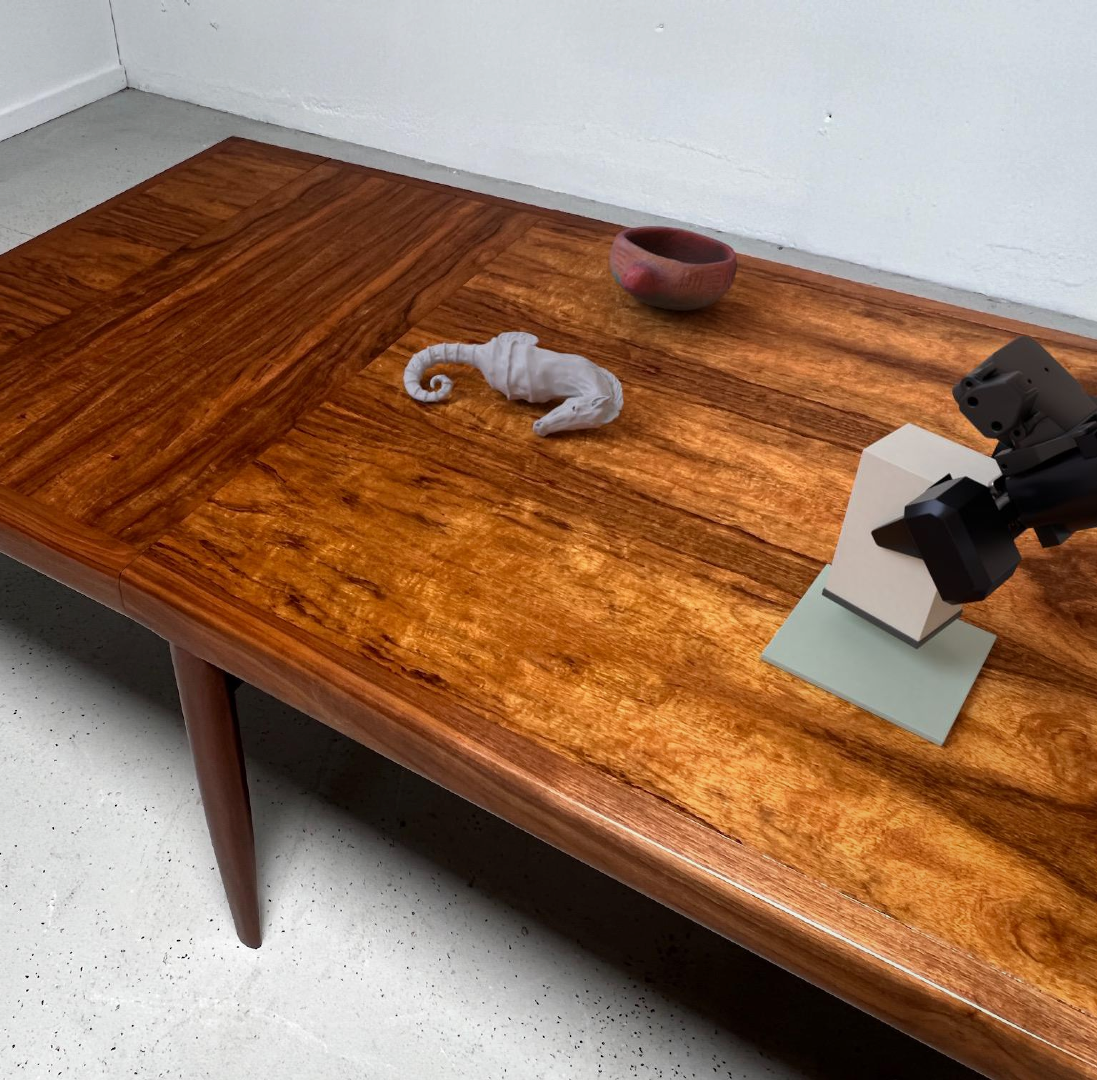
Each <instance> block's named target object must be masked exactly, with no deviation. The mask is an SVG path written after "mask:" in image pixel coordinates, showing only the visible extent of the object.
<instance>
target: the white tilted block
mask: <svg viewBox="0 0 1097 1080" xmlns="http://www.w3.org/2000/svg"><path fill="white" fill-rule="evenodd" d="M948 473H950V474H951V476H952V478H953V479H956V478H960V477H964V476H967V477H969V478H971V479H973V480H975V481H977V482H979V483H981V484H983V485H985V486H987V487H988V483H989V482H990V481H991V480H992V479H994V478H995V477H996V476H998V475H999V474H1000V473H1001V471H1000V469H999V466H998V464H997V462H996V460H995V459H993V458H991V456H988V455H986V454H983V453H981V452H979V451H976V450H974V449H971V448H969V447H967V446H964V445H962V444H960V443H958V442H955V441H953V440H951V439H948V438H945V437H943V436H941V435H938V434H936V433H934V432H932V431H929V430H927V429H924V428H922V427H919V426H918V425H915V424H913V423H911V422H907V423H905V424H904V425H902V426H901V427H900V428H897V429H896V430H894V431H893V432H891V433H889V434H887V435H885V436H884V437H882V438H880V439H879V440H877V441H875V442H874V443H872V444H870V445H868V446H867V447H865V448H863V450H862V452H861V456H860V460H859V464H858V467H857V471H856V474H855V479H854V482H853V485H852V489H851V492H850V496H849V500H848V503H847V508H846V511H845V515H844V519H843V521H842V522H843V523H842V526H841V530H840V534H839V537H838V540H837V544H836V548H835V551H834V554H833V555H834V556H833V559H832V562H831V565H832V566H831V570H830V573H829V577H828V580H827V584H826V587H825V588H823V591H822V595H823V596H824V597H826V598H828V599H830V600H831V601H833V602H835V603H837V604H838V605H840V606H842V607H844V608H845V609H847V610H849V611H851V612H852V613H854V614H856V615H858V616H859V617H861V618H863V619H865V620H866V621H868V622H870V623H872V624H873V625H875V626H877V627H879V628H880V629H882V630H884V631H885V632H887V633H889V634H891V635H892V636H894V637H896V638H898V639H899V640H901V641H903V642H905V643H906V644H908V645H910V646H912V647H913V648H915V649H918V648H920V647H921V646H922V645H923V644H925V643H926V642H927V641H929V640H930V639H931V638H933V637H934V636H935V635H937V634H938V633H939V632H941V631H942V630H943V629H944V628H946V627H947V626H948V625H950V624H951V623H952V622H954V621H955V620H956V619H959V618H960V617H961V616H962V614H963V611H964V609H962V608H963V607H964V606H963V605H964V604H959V605H950V604H948V603H946V602H944V601H942V599H941V597H940V594H939V592H938V590H937V588H936V586H935V584H934V582H933V580H932V578H931V576H930V574H929V571H928V569H927V567H926V565H925V563H924V561H923V560H922V559H918V558H915V557H912V556H908V555H905V554H902V553H898V552H895V551H892V550H889V549H885V548H882V547H879V546H877V545H876V543H875V541H874V539H873V537H872V535H871V531H872V530H874V529H875V528H877V527H879V526H882V525H884V524H886V523H888V522H890V521H892V520H894V519H897V518H899V517H901V516H903V515H904V508H905V506H906V505H907V504H909V503H910V502H911V501H913V500H914V499H916V498H917V497H918V496H920V495H921V494H922V493H924V492H925V491H926V490H927V489H928V488H929V487H930V486H932V485H933V484H935V483H936V482H937V481H939V480H940V479H941V478H943V477H944V476H946V475H947V474H948ZM992 496H993V495H992ZM993 498H994V497H993ZM994 499H995V498H994Z"/></svg>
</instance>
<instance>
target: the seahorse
mask: <svg viewBox="0 0 1097 1080" xmlns="http://www.w3.org/2000/svg"><path fill="white" fill-rule="evenodd" d="M539 341H540V340H539V338H538V336H536V335H534V334H531V333H529V332H524V331H507V332H502V333H500V334H498V335H497V337H495V336H494V337H492V338H491V339H490V341H488V342H486V343H483V344H477V343H473V344H465V343H461V342H459V341H458V342H456V343H447V342H443V343H439V344H435V345H432V346H430V345H427V347H426V348H425V349H422V350H420V351H419V352H418V353H413V355H412V357H411V358H410V360H409V362H408V363H407V366H406V367H405V368H404V374H403V377H402V378H403V379H402V380H403V384H404V387H405V390H406V392H407V393H408V395H409V396H411V397H412V399H414V400H417V401H420V402H423V403H430V402H431V403H433V402H435V403H438V402H439V401H441V400H443V399H445V398H448V397H449V395H450V393H451V391H452V388H453V387H454V382H453V381H452V380H451V379H450V378H449V377H447V376H446V374H437V375H435V376H433V377H432V378H431V379H430V382H429V383H430V388H431V389H435V385H436V383H439V382H440V383H441V388H439V389H438V390H437V391H435V390H433V391H430V392H429V391H428V390H426V389H423V388H422V386H421V382H420V381H422V380H423V375H424V374H426V372H427V370H428V369H429V368H434V367H435V366H436V365H439V364H444V365H448V364H455V365H461V364H466V365H469V366H471V367H472V368H473V369H477V370H479V371H480V372H481V373H482V375H483V377H484V379H485V381H486V382H487V384H488V385H489V386H490V388H491V389H492V390H493V391H499V392H501V393H502V394H503V395H504V396H506V398H507V401H508V402H510V401H512V400H525V401H527V402H529V403H531V404H534V403H541V404H544V403H547V402H549V401H551V400H554V399H562V400H563V399H564V402H563V403H562V404H560V405H558V406H556V407H555V408H554V409H552V410H551V411H549V413H547V414H545V415H544V416H542V417H541V418H539V419H537V420H535V421H533V425H532V431H533V433H534V434H536V435H538V436H539V437H546V436H547V435H549V434H553V433H558V432H562V431H576V430H585V429H599V428H601V426H603V425H606V424H610V423H612V422H613V420H616V419H617V418H618V417H619V416H620V413H621V412H620V411H622V410H623V406H624V393H623V392H624V390H623V387H622V385H623V384H622V382H620V380H619V379H618V378H617V377H616V375H615V374H614V373H612V372H610V371H609V370H608V369H606V368H604V367H601V366H599V365H597V364H596V363H594V362H593V361H591V360H589V359H588V358H587V357H584V356H582V355H578V354H573V353H561V352H556V351H553V350H550V349H545V348H540V347H538V346H537V344H538V343H539Z"/></svg>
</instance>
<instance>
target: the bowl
mask: <svg viewBox="0 0 1097 1080" xmlns="http://www.w3.org/2000/svg"><path fill="white" fill-rule="evenodd" d="M609 267H610V272H611V275H612V277H613V278H614V280H615V282H616V283H617V284H618V285H619V286H620V287H621V289H623V290H624V291H625V292H626V293H627V294H629V295H631V296H632V297H633V298H635V299H636V300H638V301H640V302H642V303H643V304H645V305H648V306H651V307H655V308H659V309H664V310H669V311H670V310H672V311H694V310H698V309H699V310H700V309H704V308H707V307H708V306H711V305H713V304H715V303H717V302H718V301H720V300H721V299H722V298H723V297H724V296H725V295H726V294H727V293H728V292H729V290H730V289H731V287H732V285H733V283H734V281H735V278H736V275H737V269H738V262H737V254H736V252H735V250H734V248H733V247H732V246H730V245H729V244H727V243H725V242H723V241H720V240H718V239H716V238H713V237H710V236H706V235H704V234H700V233H697V232H694V231H692V230H687V229H685V228H680V227H672V226H665V225H645V226H636V227H631V228H627V229H624V230H622V231H620V232H619V233H617V234H616V235H615V237H614V239H613V242H612V244H611V249H610V253H609Z"/></svg>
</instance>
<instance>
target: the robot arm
mask: <svg viewBox="0 0 1097 1080" xmlns="http://www.w3.org/2000/svg"><path fill="white" fill-rule="evenodd" d="M951 395H952V397H953V399H954V401H955V402H956V403H957V405H958V411H959V412H960V413H961V414H962V416H963V417H964V418H965V419H966V420H967V421H968V422H969V423H970V424H971V425H972V426H973V427H974V428H975V429H976V430H977V431H978V432H979V433H980V434H981V435H982V437H984V438H986V439H991V440H997V443H996V446H995V448H994V449H993V452H992V454H991V456H990V458H993V459H995V460H996V462H997V464H998V466H999V469H1000V471H1001V473H1000V474H999V475H998V476H996V477H995V478H994V479H992V480H991V481H990V482H989V483H988V487H987V486H985V485H983V484H981V483H979V482H977V481H975V480H973V479H971V478H969V477H967V476H964V477H960V478H956V479H953V478H952V476H951V474H950V473H948V474H947V475H946V476H944V477H943V478H941V479H940V480H939V481H937V482H936V483H935V484H933V485H932V486H930V487H929V488H928V489H927V490H926V491H925V492H924V493H922V494H921V495H920V496H918V497H917V498H916V499H914V500H913V501H911V502H910V503H909V504H907V505H906V506H905V508H904V515H903V516H901V517H899V518H897V519H894V520H892V521H890V522H888V523H886V524H884V525H882V526H879V527H877V528H875V529H874V530H872V531H871V535H872V537H873V539H874V541H875V543H876V545H877V546H879V547H882V548H885V549H889V550H892V551H895V552H898V553H902V554H905V555H908V556H912V557H915V558H918V559H922V560H923V561H924V563H925V565H926V567H927V569H928V571H929V574H930V576H931V578H932V580H933V582H934V584H935V586H936V588H937V590H938V592H939V594H940V597H941V599H942V601H944V602H946V603H948V604H950V605H959V604H963V605H965V604H971V603H978V602H984V601H985V600H986V599H987V598H988V597H990V596H991V595H992V594H993V593H994V592H995V591H996V590H998V589H999V588H1000V587H1001V586H1003V585H1004V584H1005V583H1006V582H1007V581H1009V579H1011V578H1012V577H1013V576H1014V574H1015V572H1016V570H1017V568H1018V566H1019V564H1020V563H1021V561H1022V560H1023V559H1022V558H1023V557H1022V555H1021V553H1020V551H1019V549H1018V546H1017V545H1016V542H1015V540H1017V539H1018V538H1019V537H1020V536H1022V535H1023V534H1024V533H1025V532H1027V531H1028V530H1029V529H1033V531H1034V533H1035V536H1036V537H1037V540H1038V541H1039V543H1040V546H1041V548H1042V549H1047V548H1053V547H1058V546H1061V545H1063V544H1064V543H1065V542H1066V541H1067V540H1068V539H1070V538H1071V537H1072V536H1073V535H1074V534H1076V532H1081V531H1085V530H1090V529H1091V530H1092V529H1095V528H1097V396H1095V395H1093V394H1090V393H1088V392H1085V390H1084V389H1083V386H1082V385H1081V383H1080V382H1079V381H1078V380H1077V379H1076V378H1075V377H1074V376H1073V375H1072V374H1071V373H1070V372H1069V371H1068V370H1067V369H1066V368H1065V367H1064V366H1063V365H1062V364H1061V363H1060V362H1059V361H1058V360H1057V359H1056V358H1055V357H1054V356H1052V355H1051V354H1050V352H1049V351H1048V350H1046V348H1045V347H1043V346H1042V344H1041V343H1039V342H1038V341H1037V340H1036V339H1034V338H1032V337H1030V336H1027V335H1020V336H1018V337H1016V338H1015V339H1013V340H1012V341H1009V342H1008V343H1007V344H1005V345H1004V346H1002V347H1001V348H999V349H997V350H995V351H994V352H993V353H992V354H990V356H988V357H987V358H986V359H984V360H983V361H982V362H981V363H980V364H979V365H978V366H977V367H975V368H974V369H972V371H970V372H969V373H968V374H967V375H965V376H964V377H963V378H962V379H960V380H959V381H958V382H957V383H956V384H955V385H954V386H953V387H952V389H951ZM992 495H993V496H992ZM993 497H994V498H995V499H994V498H993Z"/></svg>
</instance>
